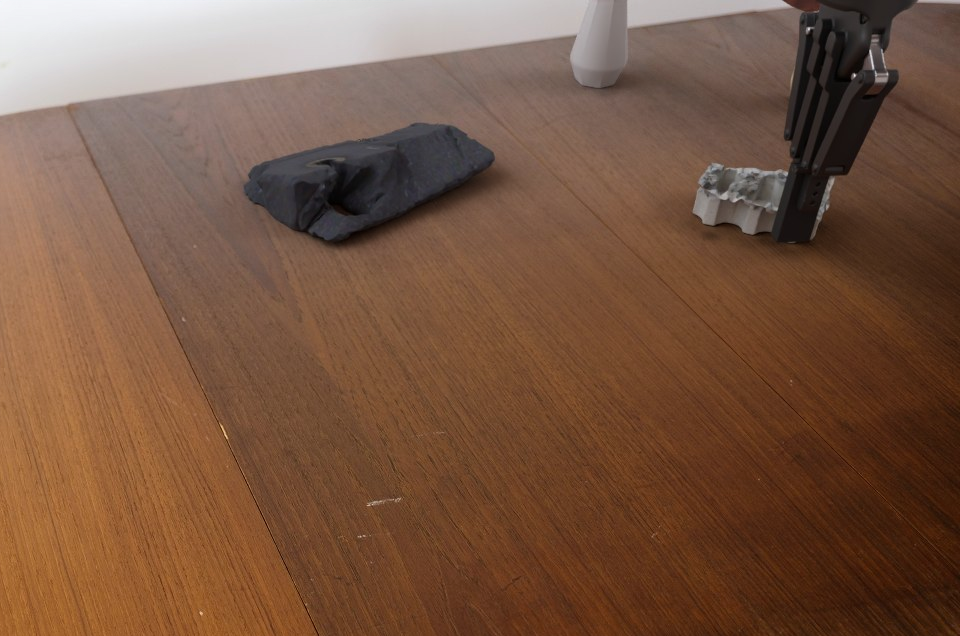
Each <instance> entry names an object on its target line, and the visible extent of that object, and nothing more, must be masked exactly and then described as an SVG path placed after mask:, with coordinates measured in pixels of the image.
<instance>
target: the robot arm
mask: <svg viewBox="0 0 960 636" xmlns="http://www.w3.org/2000/svg"><path fill="white" fill-rule="evenodd" d="M816 1H818V2H819V3H821V4H820V7H819V10H818V11H815V12H804V11H801V13H800V16H799V18H798V19H799V21H798V46H797V53H796V57H795V64H794V67H795V69H794V68H793V70H794V75H793V81H792V87H791V91H790V93H789V100H788V105H787V110H786V111H787V112H786V118H785V123H784V129H783V139H784V141H785V142H790V147H789V158H790V159H792V161H791V162H790V165H789V168H788V171H787V172H788V175H787V178H786V182H785V185H784V189H783V192H782V196H781V199H780V203H779V206H778V210H777V213H776V217H775V220H774V224H773V227H772V231H771V232H770V236H771V237H772V238H773V240H774V241H775V242H776V243H778V244H779V243H788V242H795V243H808V242H810V241H811V240H810V238H811V234H812V231H813V228H814V225H815V222H816V218H817V215H818V212H819V209H820V205H821V202H822V199H823V196H824V192H825V189H826V186H827V183H828V180H829V177H830V176H834V177H835V176H836V177H839V176H840V177H841V176H848V174H849V173H850V171H851V169H852V167H853V166H854V163H855V161H856V159H857V156H858V155H859V152H860V150H861V148H862V146H863V144H864V142H865V140H866V138H867V135H868V133H869V132H870V129H872V125H873V123H874V121H875V119H876V117H877V115H878V113H879V111H880V109H881V107H882V105H883V102H884V100H885V99H886V98H887V96H888V95H889V94H890V93H891V92H892V90H893V89H894V88H895V87H896V86H897V84H898V82H899V79H900V72H899V69H897V68H887V67H886V60H885V56H884V54H885V53H886V51H887V50H888V48H889V46H890V43H891V34H892V26H893V20H894V19H895V18H896V17H897V16H898V15H899V14H901V13H902V12H904V11H908V10H910V9H911V8H912V7H914V6H915V5H917V3H918V2H919V0H816Z"/></svg>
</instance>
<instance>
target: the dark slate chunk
mask: <svg viewBox="0 0 960 636" xmlns="http://www.w3.org/2000/svg"><path fill="white" fill-rule="evenodd" d="M468 135H469V134H468V133H466V132H465V131H462V130H461V129H460V128H458V127H457V126H454V125H452V124H445V123H428V122H413V123H412V124H411V123H410V125H407V126H406V127H402V128H398V129H395V130H393V131H391V132H388V133H384V134H383V135H375V136H372V137H367V138H364V137H362V139H361V138H358V139H356V140H351V139H349V140H345V141H341V142H337V143H336V142H335V143H334V144H330V145H329V144H328V145H322V146H318V147H314V148H312V149H306V150H305V149H304V150H302V151H299V152H295V153H290V154H287V155H284V156H281V157H277V158H274V159H271V160H265V161H262V162H261V163H260V164H257V165H254V166H252V168H251V169H250V170H249V172H248V174H247V177H248V178H249V181H246V183H244V184H243V191H244V194H245V195H247V198H248V199H250V200H251V201H252V203H254V204H259V205H261V206H262V207H264V208H265V209H266V210H267V211H268V213H269V215H271V216H272V218H274V219H276V220H277V221H278V222H280V223H281V224H283V225H285V226H286V227H288V228H290V229H292V230H295V231H300V232H306V233H308V234H309V236H311V237H318V238H321V239H324V240H325V241H328V242H332V243H335V242H340V241H343V240H347V238H349V237H350V235H351V234H353V233H356V232H358V231H367V230H368V229H370V228H372V227H378V226H379V225H382V224H383V223H385V222H387V221H390V220H393V219H396V218H399V217H402V216H403V215H405V213H407V212H409V211H410V210H411V209H413V208H414V207H417V206H419V205H422V204H424V203H426V202H431V201H433V200H435V199H436V198H437V197H439V196H441V195H443V194H445V193H446V192H450V191H453V190H454V189H455V188H460V187H462V186H464V185H463V183H465V182H467V181H468V180H469V179H470V178H472V177H474V176H477V175H478V174H481V173H482V172H483V171H485V170H487V169H489V168H490V167H492V166H493V165H494V163H495V160H496V157H495V154H494V152H493V151H492V150H491V149H490V148H489V147H487V146H485V145H483V144H482V143H481V142H479V141H478V140H477V139H476V138H470V137H468ZM331 204H335V205H341V206H342V207H343V208H344V210H345V211H347V212H348V213H352V214H355V215H350V214H349V215H344V214H342V213H340V212H339V211H337V209H335V208H334V206H332V205H331Z"/></svg>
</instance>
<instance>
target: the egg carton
mask: <svg viewBox="0 0 960 636" xmlns="http://www.w3.org/2000/svg"><path fill="white" fill-rule="evenodd" d="M787 175H788V171H786V170H784V169H781V168H780V169H779V168H778V169H777V170H775V171H772V170H762V169H759V168H756V167H737V168H734V167H732V166H731V167H726V168H725V164H720V163H718V162H713V161H711V162H710V164H709V165H708V166H707V168H706V170H705V171H704V172H703V174H702V175H701V176H700V178H699V179H698V181H697V184H698V186H700V187H698V189H697V190H696V196H695V201H694V205H693V209H692V213H693V214H694V215H696V216H698V217H699V218H700V219H701V220H702V224H703V225H707V226H708V225H709V226H712V227H714V226H716V225H719V224H722V223H729V224H733V225H736V226H738V227H739V228H740V229H741V232H742V233H745V234H746V235H752V236H753V235H757V234H758V233H763V232H769V233H771V231H772V227H773V224H774V220H775V217H776V213H777V210H778V206H779V203H780V199H781V196H782V192H783V189H784V185H785V182H786V178H787ZM835 180H836V177H835V176H830V177H829V180H828V183H827V186H826V189H825V192H824V196H823V199H822V202H821V205H820V209H819V212H818V215H817V218H816V222H815V225H814V228H813V231H812V234H811V238H810V241H812V240H813V239H814V237H815V236H816V233H817V230H818V226H819V223H821V221H822V220H823V219H822V218H823V215H824V213H825V211H828V209H829V208H830V195H831V190H832V187H833V185H834V183H835ZM787 243H789V244H795V243H796V242H787Z"/></svg>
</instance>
